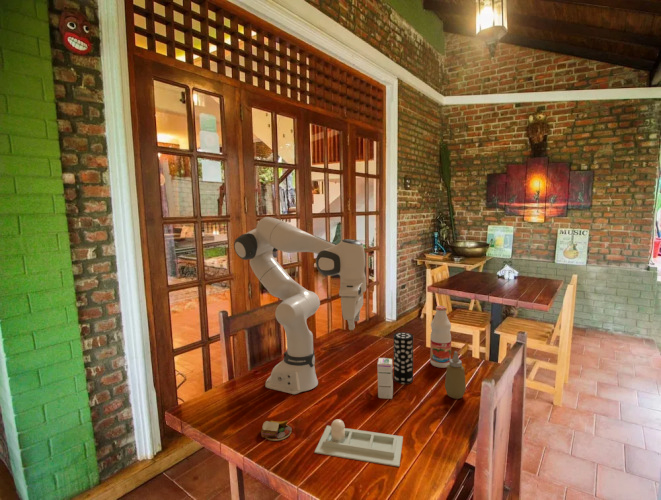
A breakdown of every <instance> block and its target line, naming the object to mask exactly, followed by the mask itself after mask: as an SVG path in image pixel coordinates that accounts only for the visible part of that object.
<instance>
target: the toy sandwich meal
mask: <svg viewBox="0 0 661 500" xmlns="http://www.w3.org/2000/svg"><path fill="white" fill-rule="evenodd" d="M288 421H289V420H284V421H277V420H276V421H275V420H270V421H268V420H265V421H264V422H263V424H262V426H261V427H262V428H261V430H260V436H261V437H262V438H265V439H266V440H268V441H272V442H279V441H283V440H285V439H287V438H288V437H289V436H290V435H291V433H292V426H290V425H288Z"/></svg>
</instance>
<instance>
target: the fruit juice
mask: <svg viewBox="0 0 661 500" xmlns="http://www.w3.org/2000/svg"><path fill="white" fill-rule="evenodd" d="M447 310H448V309H447V307H446V306H444V305H436V306H435V314H434V317H433V319H432V321H431V322H430V327H431V331H430V332H431V333H430V347H429V348H430V352H429V353H430V354H429V355H430V359H429V360H430V364H431V365H432V366H433V367H437V368H443V369H444V368H447V365H449V362H450V359H452V335H451V328H452V324H451V322H450V319H449V317H448V315H447Z"/></svg>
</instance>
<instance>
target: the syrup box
mask: <svg viewBox="0 0 661 500" xmlns="http://www.w3.org/2000/svg"><path fill="white" fill-rule="evenodd" d="M376 364H377V366H376V367H377V369H376V370H377V397H378V398H379V399H387V400H389V399H390V400H392V399H393V395H394V368H393V358H389V357H378V360H377V363H376Z"/></svg>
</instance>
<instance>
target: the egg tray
mask: <svg viewBox="0 0 661 500" xmlns="http://www.w3.org/2000/svg"><path fill="white" fill-rule="evenodd" d="M403 439H404V436H403V435H396V434H389V433H388V434H387V433H382V432H374V431H368V430H362V429H361V430H360V429H355V428H354V429H353V428H346V427H345V442H344V443H339V442H333V441H332V440H331V425H326V427H325V428H324V431H323V433H322V435H321V437H320V439H319V442H318V444H317V445H316V448H315V450H314V454H321V455H325V456H332V457H337V458H338V457H339V458H343V459H350V460H356V461H361V462H366V463H367V462H369V463H374V464H379V465H385V466H386V465H387V466H392V467H398V468H399V467H400V464H401V457H402V450H403V443H404V442H403V441H404V440H403Z"/></svg>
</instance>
